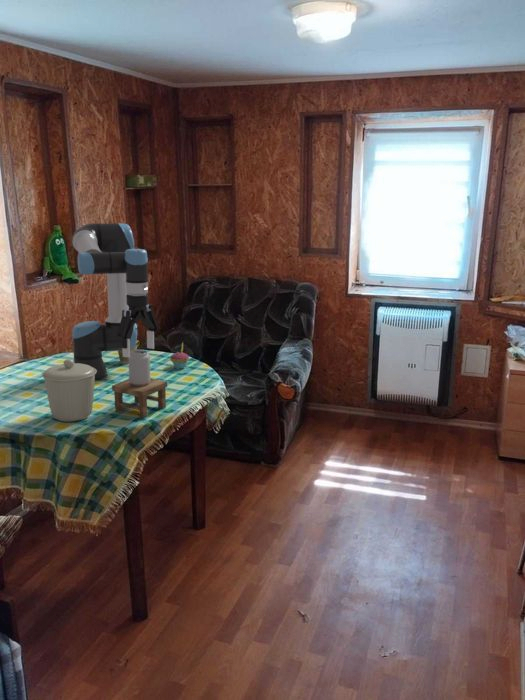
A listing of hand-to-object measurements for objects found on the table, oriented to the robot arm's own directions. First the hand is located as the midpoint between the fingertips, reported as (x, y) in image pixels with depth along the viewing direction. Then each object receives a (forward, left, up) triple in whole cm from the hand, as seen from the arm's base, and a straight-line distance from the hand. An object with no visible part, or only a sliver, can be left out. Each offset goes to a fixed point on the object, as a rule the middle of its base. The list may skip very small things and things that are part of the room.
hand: (138, 352), depth 208 cm
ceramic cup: (-45, +48, -22) cm, 69 cm away
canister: (-16, -18, -22) cm, 33 cm away
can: (0, 0, -12) cm, 12 cm away
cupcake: (-19, +52, -22) cm, 59 cm away
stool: (0, 0, -22) cm, 22 cm away
